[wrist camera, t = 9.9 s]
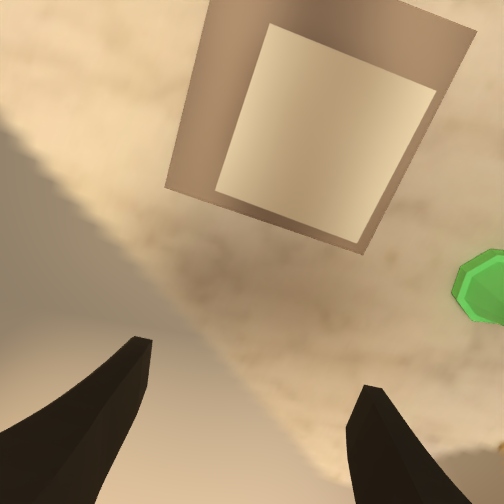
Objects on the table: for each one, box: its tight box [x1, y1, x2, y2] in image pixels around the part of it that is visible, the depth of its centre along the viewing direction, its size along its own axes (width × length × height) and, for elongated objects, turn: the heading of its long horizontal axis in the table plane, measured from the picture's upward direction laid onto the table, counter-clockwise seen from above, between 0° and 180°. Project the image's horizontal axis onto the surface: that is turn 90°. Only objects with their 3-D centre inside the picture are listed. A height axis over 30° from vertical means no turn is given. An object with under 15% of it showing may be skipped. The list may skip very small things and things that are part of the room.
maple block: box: [215, 23, 436, 243], centre depth 12 cm, size 4×4×6 cm
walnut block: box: [165, 0, 477, 255], centre depth 17 cm, size 9×9×4 cm
